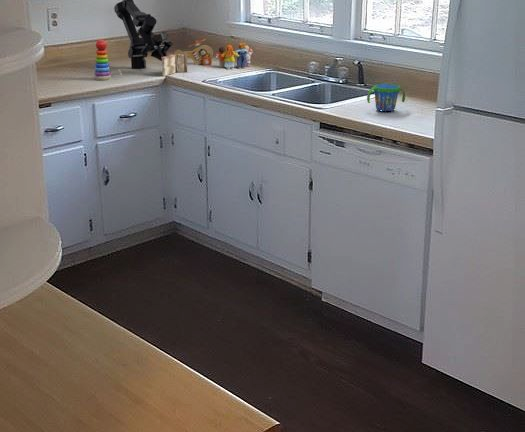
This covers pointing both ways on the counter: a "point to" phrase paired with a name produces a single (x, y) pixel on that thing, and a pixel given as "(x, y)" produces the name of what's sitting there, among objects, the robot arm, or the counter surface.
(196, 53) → the toy helicopter
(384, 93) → the snack cup
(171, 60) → the fence gate
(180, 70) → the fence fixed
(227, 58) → the doll family
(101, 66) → the stacking toy
